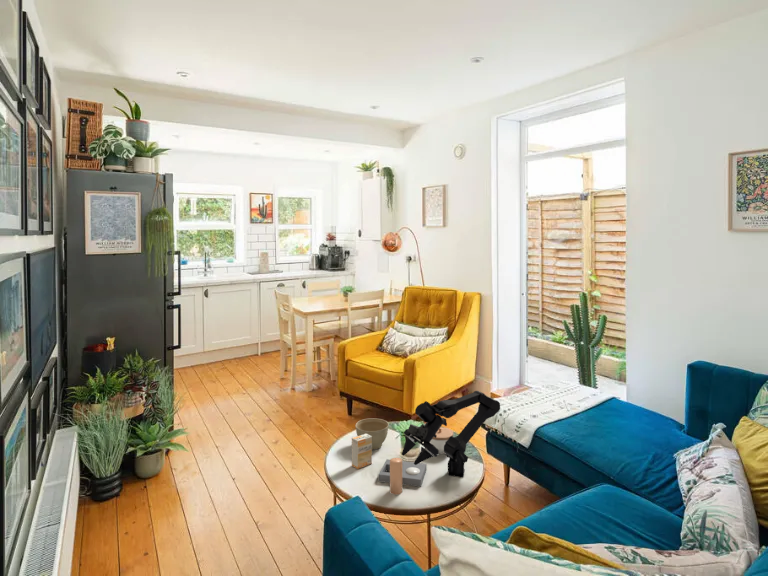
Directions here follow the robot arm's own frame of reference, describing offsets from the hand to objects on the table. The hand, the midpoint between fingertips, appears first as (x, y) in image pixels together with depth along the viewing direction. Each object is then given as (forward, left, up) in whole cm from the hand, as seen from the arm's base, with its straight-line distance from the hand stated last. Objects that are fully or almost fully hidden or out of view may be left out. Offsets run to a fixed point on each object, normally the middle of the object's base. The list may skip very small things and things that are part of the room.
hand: (408, 459), depth 192 cm
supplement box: (+24, -14, -12) cm, 30 cm away
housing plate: (+4, -9, -12) cm, 16 cm away
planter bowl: (+25, -34, -12) cm, 44 cm away
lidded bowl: (-8, -37, -12) cm, 40 cm away
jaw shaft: (+4, +4, -12) cm, 13 cm away
